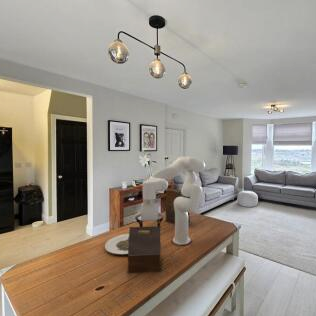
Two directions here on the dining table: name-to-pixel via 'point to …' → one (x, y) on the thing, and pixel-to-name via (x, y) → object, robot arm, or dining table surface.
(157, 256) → the chest
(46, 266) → the dining table surface
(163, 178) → the robot arm
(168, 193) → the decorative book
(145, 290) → the dining table surface
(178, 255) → the dining table surface
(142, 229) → the lid
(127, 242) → the plated food
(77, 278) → the dining table surface
